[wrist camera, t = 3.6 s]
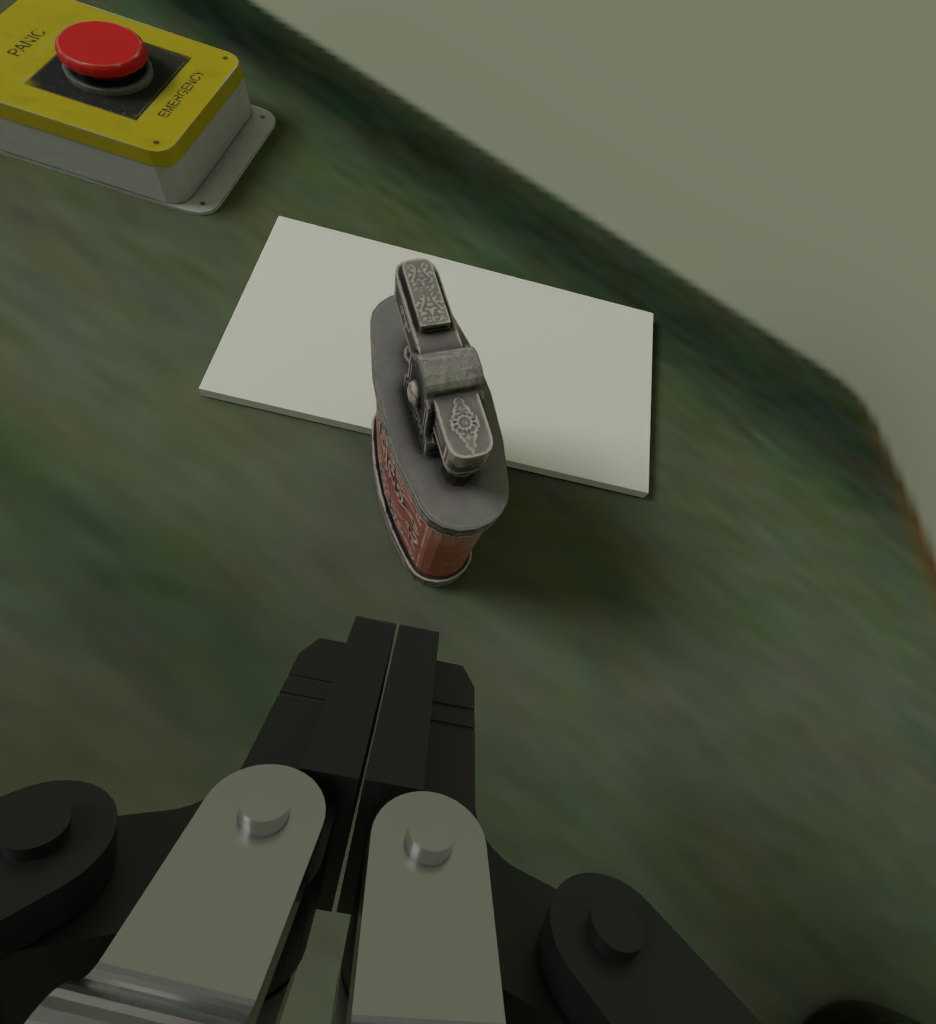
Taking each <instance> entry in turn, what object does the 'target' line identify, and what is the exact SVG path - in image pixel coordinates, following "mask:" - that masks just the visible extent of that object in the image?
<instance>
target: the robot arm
mask: <svg viewBox="0 0 936 1024" xmlns="http://www.w3.org/2000/svg"><path fill="white" fill-rule="evenodd" d="M395 629H396V624H394V623H389V622H384V621H379V620H374V619H369V618H364V617H359V616H357V617H356V619H355V621H354V624H353V627H352V629H351V632H350V635H349V637H348V640H347V642H346V643H343V642H338V641H333V640H327V639H322V638H320V639H318V640H317V641H315V642H314V643H313V644H311V645H310V646H308V647H307V648H306V649H304V650H303V651H302V652H300V653H299V655H298V657H297V659H296V661H295V663H294V665H293V667H292V669H291V671H290V673H289V676H288V678H287V679H286V681H285V683H284V685H283V687H282V689H281V691H280V694H279V696H278V697H277V699H276V701H275V703H274V705H273V707H272V709H271V711H270V713H269V715H268V717H267V719H266V721H265V723H264V725H263V727H262V729H261V731H260V733H259V735H258V737H257V738H256V740H255V742H254V744H253V746H252V748H251V750H250V752H249V754H248V756H247V758H246V760H245V762H244V764H243V766H242V768H241V769H240V770H239V771H236V772H235V773H233V774H231V775H229V776H227V777H226V778H224V779H223V780H221V781H220V782H219V783H218V784H217V785H216V786H215V787H214V788H213V789H212V790H211V791H210V792H209V794H208V795H207V796H206V798H205V799H204V800H203V801H200V802H198V803H195V804H193V805H190V806H186V807H182V808H179V809H173V810H167V811H159V812H150V813H140V814H131V815H122V816H118V815H117V809H116V805H115V803H114V801H113V799H112V798H111V797H110V796H109V795H108V793H107V792H105V791H104V790H102V789H101V788H99V787H97V786H95V785H92V784H90V783H85V782H81V781H70V780H63V781H51V782H45V783H40V784H36V785H32V786H28V787H25V788H23V789H20V790H17V791H15V792H12V793H10V794H7V795H5V796H3V797H0V1024H279V1023H280V1020H281V1017H282V1014H283V1011H284V1008H285V1005H286V1002H287V999H288V996H289V993H290V990H291V987H292V984H293V981H294V977H295V973H296V970H297V967H298V965H299V963H300V961H301V959H302V957H303V954H304V952H305V949H306V945H307V941H308V938H309V934H310V930H311V926H312V922H313V918H314V914H315V911H316V909H318V910H325V911H332V907H333V903H334V899H335V894H336V890H337V886H338V881H339V877H340V873H341V868H342V864H343V860H344V856H345V851H346V847H347V843H348V838H349V834H350V830H351V826H352V821H353V817H354V813H355V808H356V804H357V800H358V795H359V791H360V787H361V783H362V778H363V774H364V770H365V765H366V761H367V757H368V753H369V748H370V744H371V740H372V735H373V731H374V727H375V722H376V718H377V713H378V709H379V704H380V700H381V695H382V690H383V686H384V681H385V676H386V671H387V667H388V662H389V657H390V652H391V648H392V643H393V638H394V634H395ZM438 640H439V632H435V631H430V630H425V629H420V628H415V627H410V626H405V625H400V626H399V631H398V635H397V640H396V644H395V648H394V653H393V657H392V662H391V666H390V670H389V675H388V679H387V684H386V688H385V692H384V697H383V701H382V706H381V710H380V714H379V719H378V723H377V727H376V732H375V736H374V741H373V745H372V749H371V754H370V758H369V763H368V767H367V771H366V776H365V780H364V785H363V790H362V794H361V799H360V804H359V809H358V813H357V818H356V823H355V827H354V832H353V837H352V842H351V846H350V851H349V856H348V860H347V865H346V870H345V874H344V879H343V884H342V889H341V893H340V898H339V903H338V907H337V912H339V913H345V914H351V918H350V923H349V928H348V933H347V938H346V943H345V948H344V953H343V958H342V962H341V967H340V971H339V976H338V980H337V985H336V992H335V1000H334V1007H333V1015H332V1022H331V1024H761V1023H760V1022H759V1020H758V1019H757V1018H756V1017H755V1016H754V1015H753V1014H752V1013H751V1012H750V1011H749V1010H748V1009H747V1008H746V1007H745V1005H744V1004H743V1003H742V1002H741V1001H740V1000H739V999H738V998H737V997H736V996H735V995H734V994H733V993H732V992H731V990H730V989H729V988H728V987H727V986H726V985H725V984H724V983H723V982H722V981H721V980H720V979H719V978H718V976H717V975H716V974H715V973H714V972H713V971H712V970H711V969H710V968H709V967H708V966H707V965H706V964H705V963H704V961H703V960H702V959H701V958H700V957H699V956H698V955H697V954H696V953H695V952H694V951H693V950H692V949H691V948H690V946H689V945H688V944H687V943H686V942H685V941H684V940H683V939H682V938H681V937H680V936H679V935H678V934H677V932H676V931H675V930H674V929H673V928H672V927H671V926H670V925H669V924H668V923H667V922H666V921H665V920H664V919H663V917H662V916H661V915H660V914H659V913H658V912H657V911H656V910H655V909H654V908H653V907H652V906H651V905H650V904H649V902H647V901H646V900H645V899H644V898H643V897H642V896H641V895H640V894H639V893H638V892H636V891H635V890H634V889H632V888H631V887H630V886H628V885H626V884H625V883H623V882H621V881H619V880H617V879H615V878H612V877H610V876H606V875H603V874H597V873H581V874H578V875H574V876H572V877H570V878H568V879H566V880H565V881H564V882H563V883H562V884H561V885H560V886H559V887H558V889H555V888H553V887H551V886H550V885H548V884H546V883H544V882H542V881H540V880H538V879H536V878H534V877H532V876H530V875H528V874H526V873H524V872H522V871H520V870H519V869H517V868H515V867H514V866H512V865H511V864H509V863H508V862H507V861H505V860H504V859H503V858H502V857H501V856H500V855H499V854H498V853H497V852H496V851H495V850H494V849H493V848H492V847H491V845H490V844H489V843H488V842H487V840H486V838H485V836H484V833H483V831H482V828H481V826H480V825H479V823H478V821H477V817H476V810H475V732H474V728H475V725H474V686H473V684H472V682H471V680H470V678H469V677H468V675H467V673H466V671H465V669H464V668H463V666H461V665H455V664H450V663H445V662H440V661H436V660H437V650H438Z"/></svg>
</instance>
